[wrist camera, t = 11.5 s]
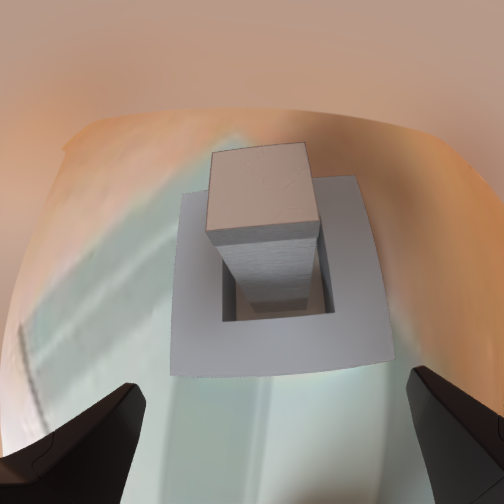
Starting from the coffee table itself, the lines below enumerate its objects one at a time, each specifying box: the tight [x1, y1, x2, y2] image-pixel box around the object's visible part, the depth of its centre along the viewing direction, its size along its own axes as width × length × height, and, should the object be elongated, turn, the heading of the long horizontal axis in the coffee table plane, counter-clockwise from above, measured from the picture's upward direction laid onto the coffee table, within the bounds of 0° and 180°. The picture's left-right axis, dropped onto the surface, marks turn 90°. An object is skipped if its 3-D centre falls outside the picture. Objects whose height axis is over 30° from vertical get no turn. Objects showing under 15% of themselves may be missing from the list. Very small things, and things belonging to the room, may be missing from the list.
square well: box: [170, 175, 395, 377], centre depth 20 cm, size 14×14×5 cm
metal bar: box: [205, 142, 320, 313], centre depth 16 cm, size 4×4×13 cm
